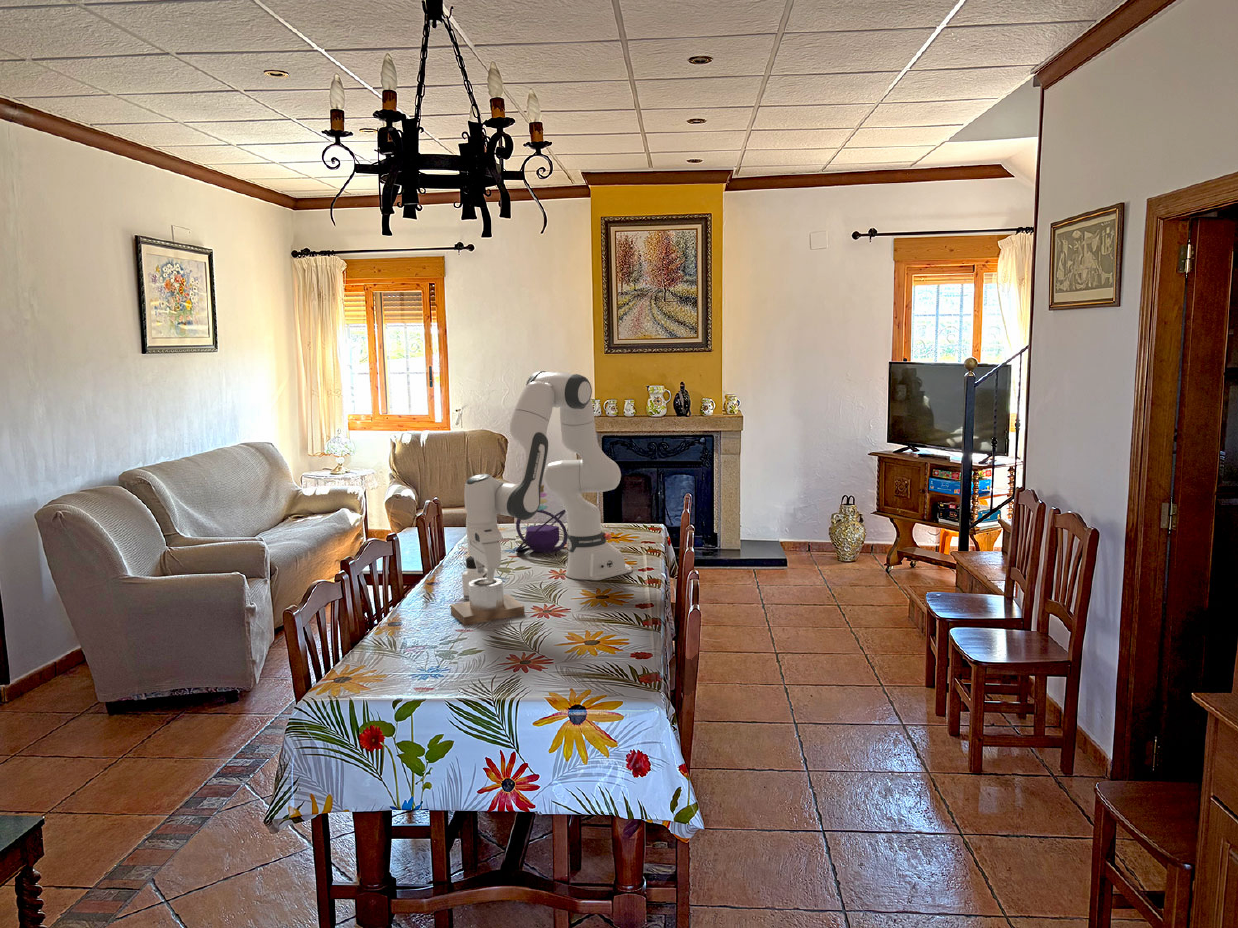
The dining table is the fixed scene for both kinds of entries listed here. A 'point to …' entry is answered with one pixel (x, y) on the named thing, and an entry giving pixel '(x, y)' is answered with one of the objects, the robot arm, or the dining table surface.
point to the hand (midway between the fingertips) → (485, 576)
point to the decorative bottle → (543, 532)
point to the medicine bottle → (471, 574)
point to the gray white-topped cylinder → (485, 582)
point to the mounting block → (486, 611)
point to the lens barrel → (486, 595)
